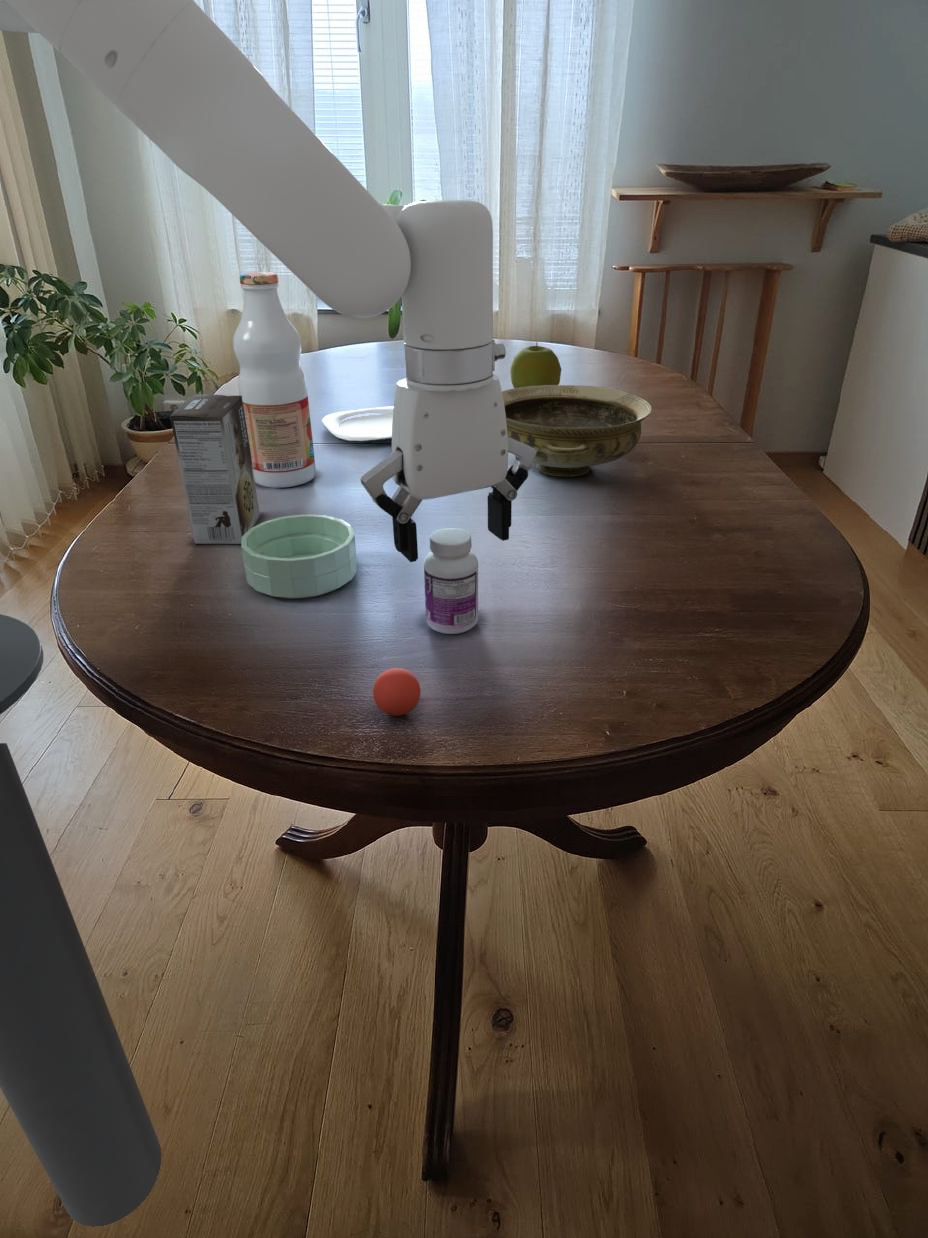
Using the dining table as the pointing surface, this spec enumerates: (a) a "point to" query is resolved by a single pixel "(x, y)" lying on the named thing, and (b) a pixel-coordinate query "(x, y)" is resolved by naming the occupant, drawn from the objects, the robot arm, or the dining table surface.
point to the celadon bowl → (299, 555)
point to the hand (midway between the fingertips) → (454, 545)
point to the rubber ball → (396, 691)
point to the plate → (361, 425)
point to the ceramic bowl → (574, 425)
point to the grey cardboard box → (216, 467)
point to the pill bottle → (451, 582)
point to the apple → (535, 367)
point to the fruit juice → (273, 387)
